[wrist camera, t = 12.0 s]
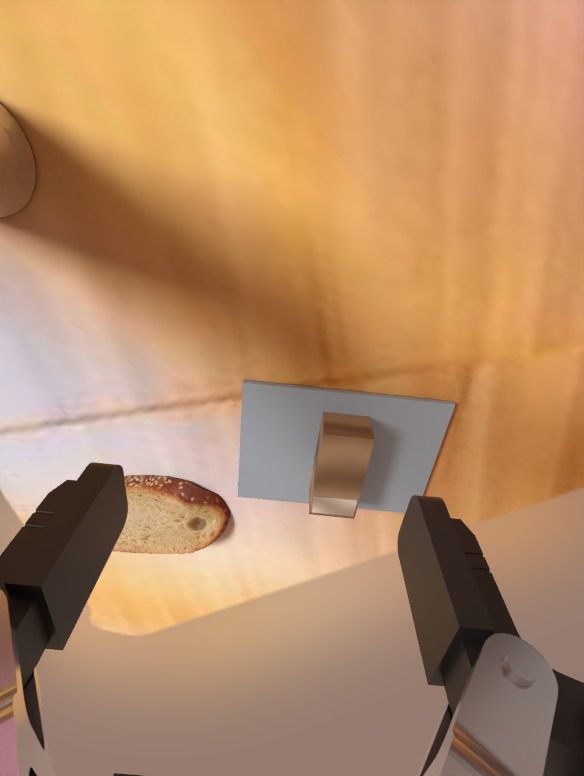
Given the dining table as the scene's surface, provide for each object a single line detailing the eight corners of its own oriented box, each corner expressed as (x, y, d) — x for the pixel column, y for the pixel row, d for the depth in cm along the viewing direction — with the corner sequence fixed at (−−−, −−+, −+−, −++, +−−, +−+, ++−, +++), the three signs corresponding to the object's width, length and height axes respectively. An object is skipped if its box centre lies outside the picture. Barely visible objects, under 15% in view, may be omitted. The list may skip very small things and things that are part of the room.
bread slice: (56, 519, 54) (40, 542, 50) (114, 434, 46) (99, 454, 43) (174, 574, 59) (166, 599, 55) (243, 505, 51) (239, 529, 48)
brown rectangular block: (322, 411, 42) (324, 435, 39) (369, 416, 43) (375, 440, 39) (309, 488, 48) (309, 515, 44) (350, 492, 48) (354, 520, 44)
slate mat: (238, 493, 49) (237, 496, 49) (243, 379, 42) (242, 382, 41) (415, 510, 50) (416, 513, 49) (453, 401, 42) (455, 404, 41)
